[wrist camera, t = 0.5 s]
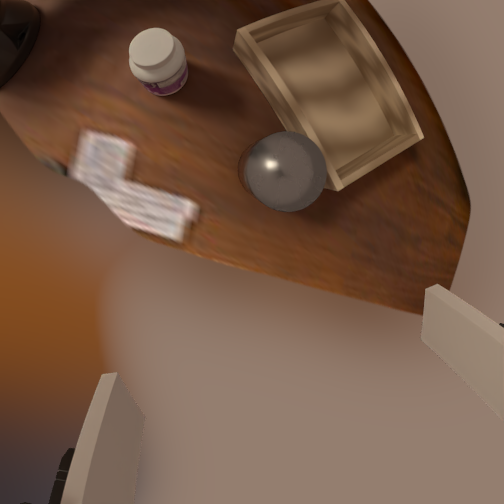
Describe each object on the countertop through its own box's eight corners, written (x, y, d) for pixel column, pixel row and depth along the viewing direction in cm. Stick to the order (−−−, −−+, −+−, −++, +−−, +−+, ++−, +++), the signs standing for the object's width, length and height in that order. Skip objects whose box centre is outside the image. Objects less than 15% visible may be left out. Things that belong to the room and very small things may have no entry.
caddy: (232, 49, 28) (237, 29, 22) (323, 14, 27) (340, -5, 22) (318, 186, 34) (337, 191, 29) (397, 139, 34) (424, 137, 28)
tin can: (226, 159, 32) (231, 157, 23) (278, 129, 32) (301, 117, 23) (258, 211, 34) (274, 227, 25) (308, 180, 34) (339, 186, 25)
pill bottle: (134, 75, 27) (109, 46, 18) (172, 48, 27) (160, 11, 18) (160, 106, 29) (141, 84, 20) (198, 78, 28) (194, 47, 19)
